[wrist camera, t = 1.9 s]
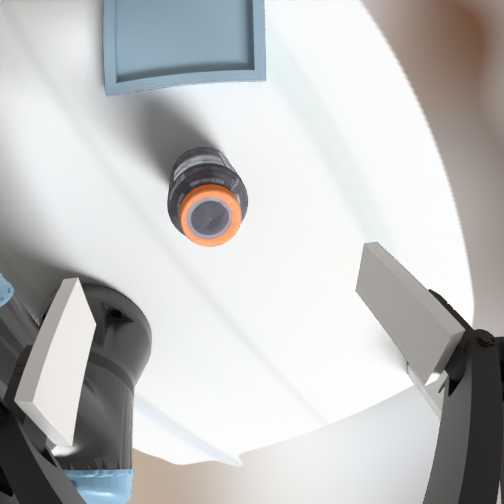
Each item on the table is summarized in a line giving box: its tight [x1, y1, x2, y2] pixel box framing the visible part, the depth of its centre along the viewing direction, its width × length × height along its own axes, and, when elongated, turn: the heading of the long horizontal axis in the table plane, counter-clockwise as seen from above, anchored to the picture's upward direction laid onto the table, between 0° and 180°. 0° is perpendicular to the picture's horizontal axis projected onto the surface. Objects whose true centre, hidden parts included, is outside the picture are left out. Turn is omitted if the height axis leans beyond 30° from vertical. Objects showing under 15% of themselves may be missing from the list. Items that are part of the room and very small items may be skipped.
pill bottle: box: [167, 147, 248, 247], centre depth 24 cm, size 6×6×11 cm
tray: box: [103, 0, 266, 96], centre depth 20 cm, size 14×14×2 cm
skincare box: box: [407, 364, 448, 420], centre depth 49 cm, size 8×6×15 cm
